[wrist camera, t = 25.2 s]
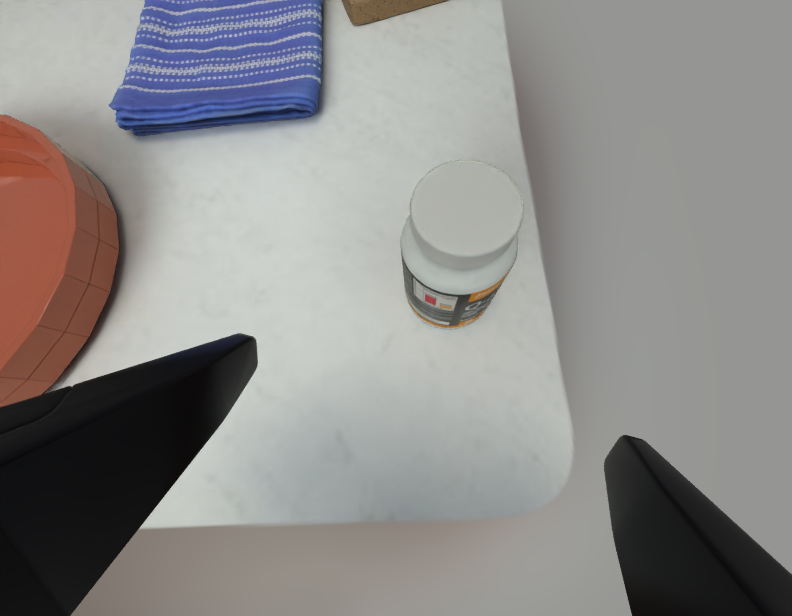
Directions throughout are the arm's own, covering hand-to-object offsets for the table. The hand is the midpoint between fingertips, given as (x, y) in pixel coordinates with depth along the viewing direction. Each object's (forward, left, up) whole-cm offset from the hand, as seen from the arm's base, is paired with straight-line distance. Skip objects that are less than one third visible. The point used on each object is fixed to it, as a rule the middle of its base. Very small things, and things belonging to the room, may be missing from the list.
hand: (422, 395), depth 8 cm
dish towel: (+35, +15, -14) cm, 40 cm away
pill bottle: (+8, -2, -14) cm, 16 cm away
